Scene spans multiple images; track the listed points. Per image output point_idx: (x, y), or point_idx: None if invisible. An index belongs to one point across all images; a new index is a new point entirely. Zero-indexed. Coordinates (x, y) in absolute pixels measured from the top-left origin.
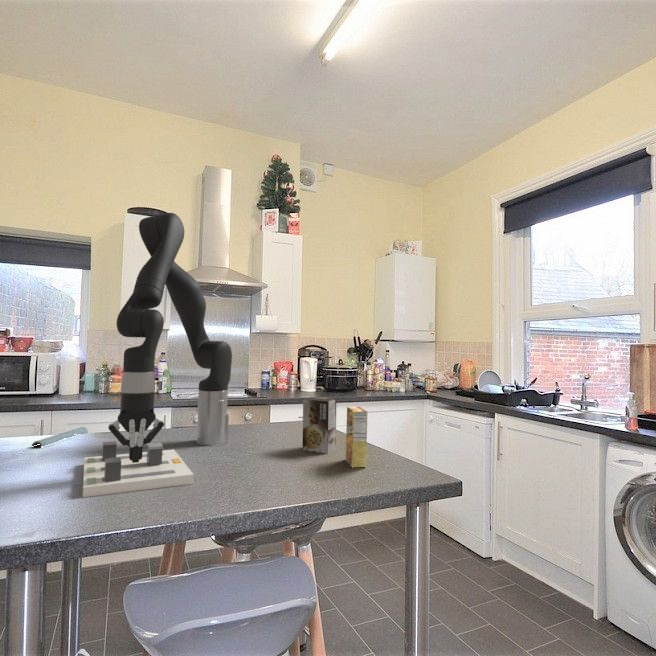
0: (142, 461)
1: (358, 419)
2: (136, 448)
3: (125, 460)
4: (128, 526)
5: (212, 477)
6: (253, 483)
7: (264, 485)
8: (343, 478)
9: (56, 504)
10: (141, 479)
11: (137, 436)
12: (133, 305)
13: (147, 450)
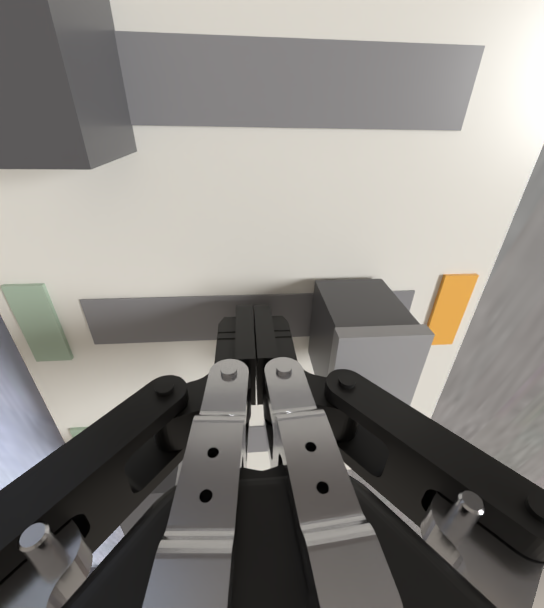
0: (296, 251)
1: None
2: (257, 400)
3: (201, 187)
4: None
5: (482, 390)
6: (527, 455)
7: (534, 470)
8: None
9: (39, 461)
10: (257, 468)
11: (271, 418)
12: None
13: (328, 332)
